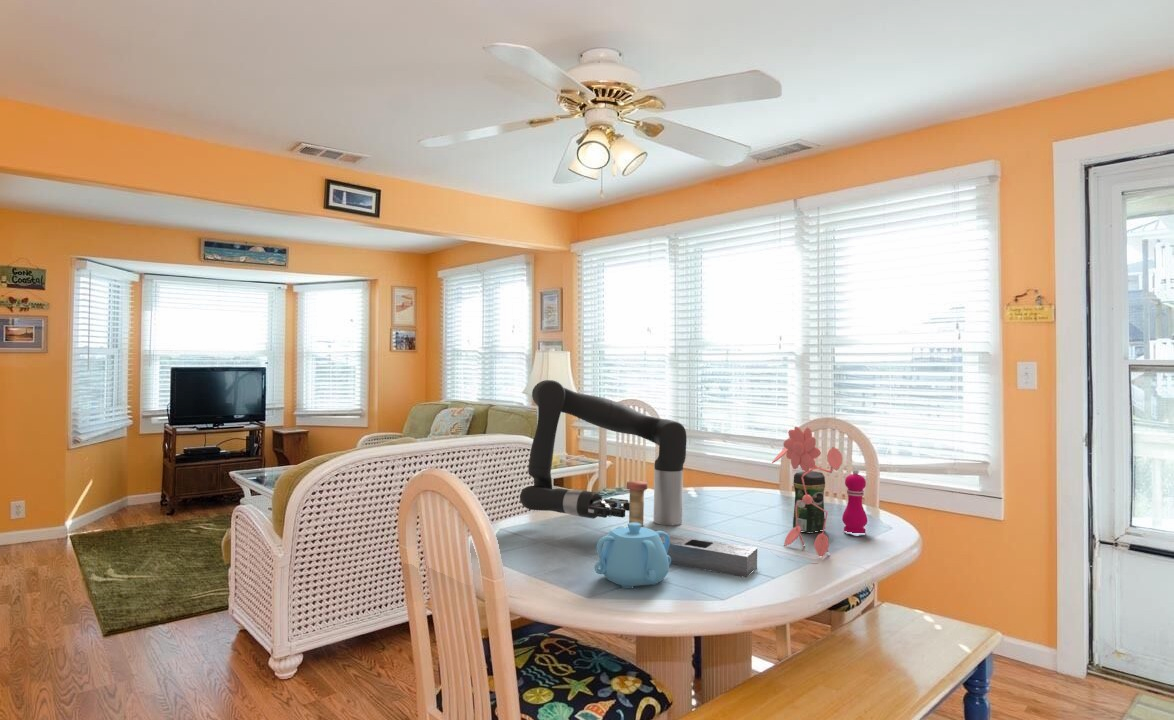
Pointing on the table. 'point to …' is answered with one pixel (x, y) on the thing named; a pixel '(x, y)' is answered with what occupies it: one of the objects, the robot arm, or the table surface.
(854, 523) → the pepper mill
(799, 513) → the coffee jar
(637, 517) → the oak pin
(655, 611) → the table surface
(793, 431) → the figurine
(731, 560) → the bar
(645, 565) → the decorative pot
